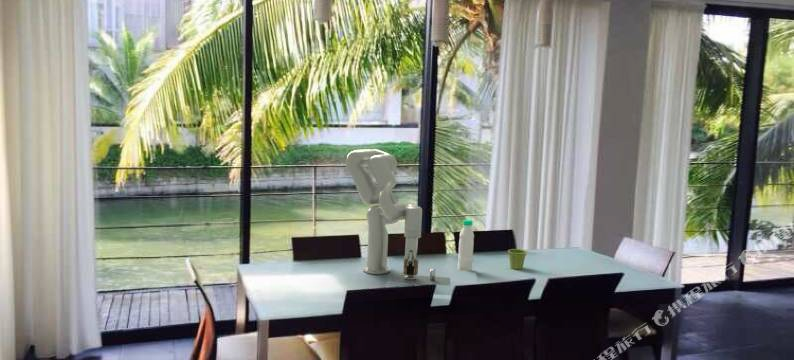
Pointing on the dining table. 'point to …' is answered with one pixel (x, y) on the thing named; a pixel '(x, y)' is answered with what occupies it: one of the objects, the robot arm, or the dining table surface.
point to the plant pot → (517, 258)
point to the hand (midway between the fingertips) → (410, 271)
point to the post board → (422, 279)
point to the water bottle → (466, 247)
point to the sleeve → (414, 267)
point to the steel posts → (411, 277)
